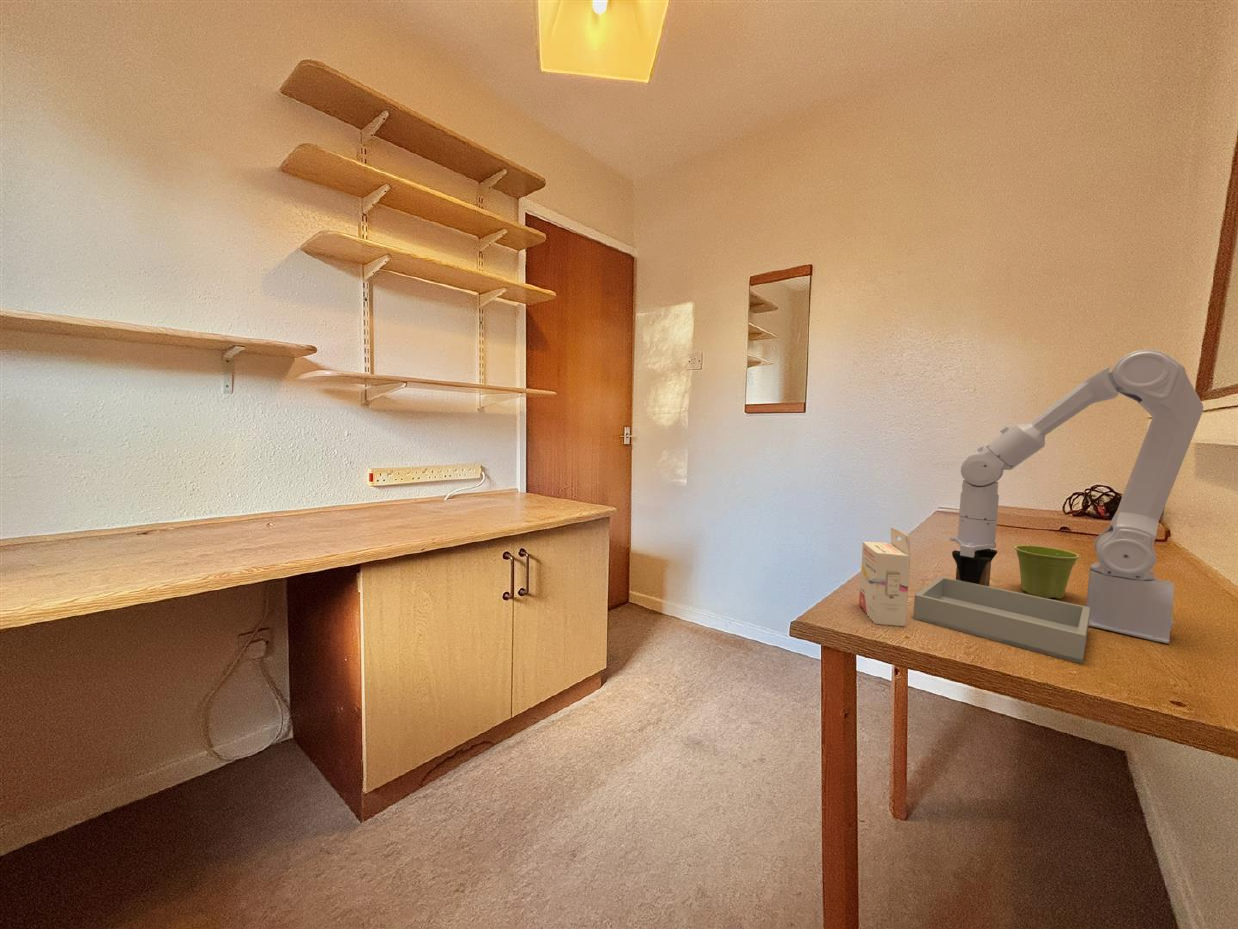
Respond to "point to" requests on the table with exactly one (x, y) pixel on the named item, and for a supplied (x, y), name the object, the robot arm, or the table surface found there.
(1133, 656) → the table surface
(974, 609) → the tray bin
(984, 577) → the walnut block
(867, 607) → the ink cartridge box
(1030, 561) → the plant pot
